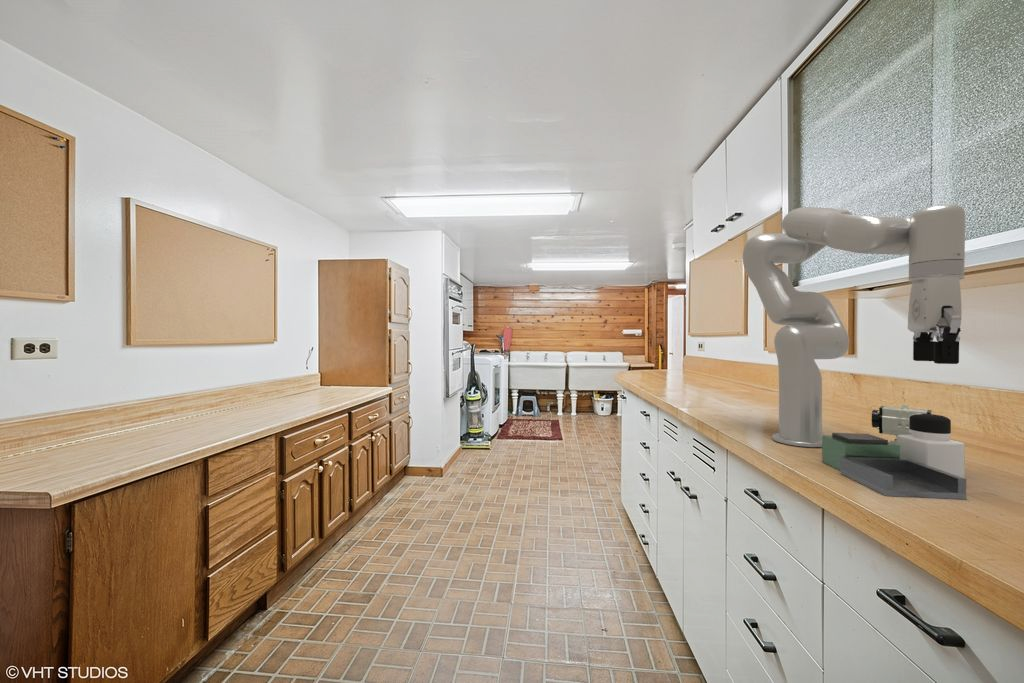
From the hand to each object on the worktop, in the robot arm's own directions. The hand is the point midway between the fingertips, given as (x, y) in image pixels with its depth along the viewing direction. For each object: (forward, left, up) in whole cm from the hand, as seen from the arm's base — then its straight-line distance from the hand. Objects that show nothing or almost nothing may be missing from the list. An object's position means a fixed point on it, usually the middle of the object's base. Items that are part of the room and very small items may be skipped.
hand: (934, 362), depth 81 cm
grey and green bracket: (-1, -8, -23) cm, 25 cm away
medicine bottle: (-6, +4, -23) cm, 24 cm away
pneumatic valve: (-21, +10, -23) cm, 33 cm away
